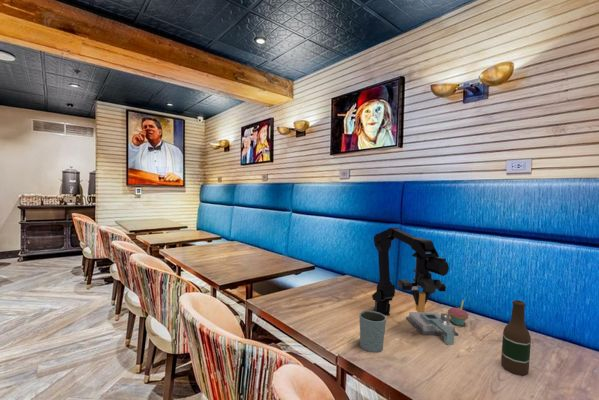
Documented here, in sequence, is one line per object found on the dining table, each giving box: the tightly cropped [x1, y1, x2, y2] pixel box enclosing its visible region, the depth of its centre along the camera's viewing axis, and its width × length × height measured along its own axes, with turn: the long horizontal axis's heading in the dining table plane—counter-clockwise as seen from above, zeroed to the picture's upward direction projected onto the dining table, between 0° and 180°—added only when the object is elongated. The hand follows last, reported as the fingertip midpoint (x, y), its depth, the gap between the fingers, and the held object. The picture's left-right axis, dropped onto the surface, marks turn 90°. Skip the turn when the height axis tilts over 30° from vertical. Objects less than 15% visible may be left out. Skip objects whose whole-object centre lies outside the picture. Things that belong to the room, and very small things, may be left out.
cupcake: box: [447, 299, 469, 327], centre depth 135 cm, size 9×8×12 cm
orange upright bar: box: [415, 291, 426, 312], centre depth 122 cm, size 3×3×8 cm
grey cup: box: [358, 310, 387, 354], centre depth 111 cm, size 10×10×12 cm
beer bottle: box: [500, 299, 532, 377], centre depth 100 cm, size 8×8×24 cm
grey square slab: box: [405, 311, 459, 345], centre depth 127 cm, size 16×24×6 cm
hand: (420, 305), depth 123 cm, fingers closed on orange upright bar, 3 cm apart
